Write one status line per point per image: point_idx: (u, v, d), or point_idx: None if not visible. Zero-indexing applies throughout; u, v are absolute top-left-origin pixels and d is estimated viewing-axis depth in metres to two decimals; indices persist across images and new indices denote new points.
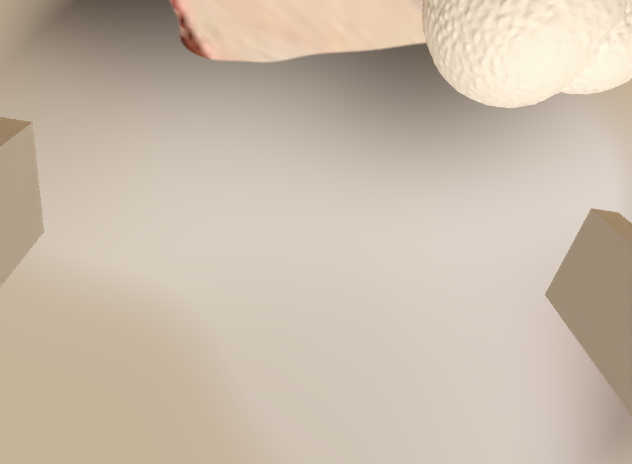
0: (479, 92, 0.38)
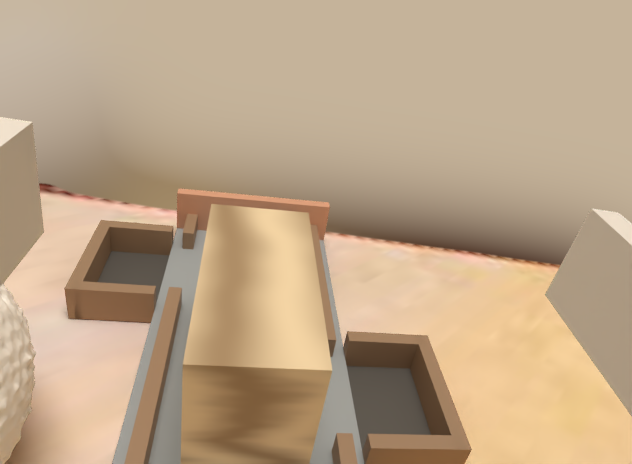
0: None
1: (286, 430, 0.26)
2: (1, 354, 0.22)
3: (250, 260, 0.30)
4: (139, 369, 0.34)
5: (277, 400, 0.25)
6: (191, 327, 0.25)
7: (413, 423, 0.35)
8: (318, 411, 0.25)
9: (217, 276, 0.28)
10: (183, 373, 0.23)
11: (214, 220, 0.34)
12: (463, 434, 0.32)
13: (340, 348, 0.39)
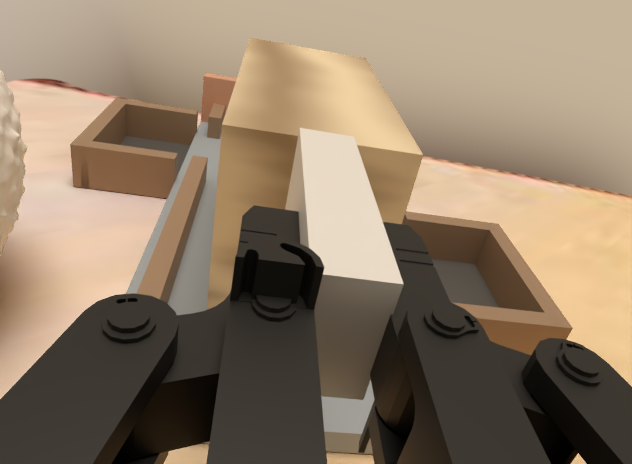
0: None
1: None
2: None
3: (301, 73, 0.24)
4: (155, 230, 0.28)
5: None
6: (232, 102, 0.19)
7: None
8: None
9: (262, 77, 0.22)
10: (222, 141, 0.17)
11: (255, 46, 0.27)
12: (559, 313, 0.25)
13: None
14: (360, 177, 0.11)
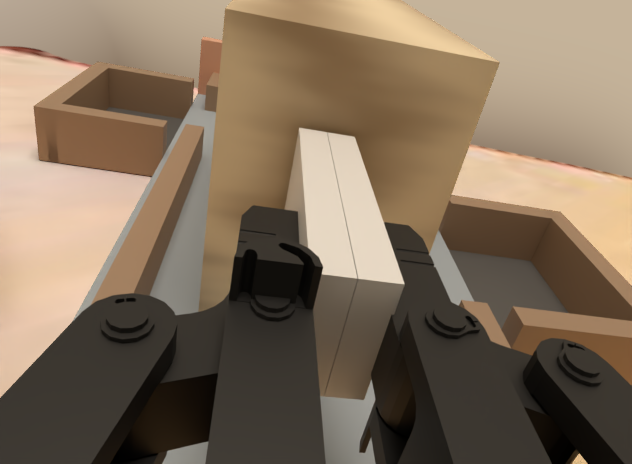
0: None
1: (391, 209, 0.15)
2: None
3: None
4: (135, 211, 0.22)
5: (387, 132, 0.14)
6: None
7: None
8: (453, 168, 0.14)
9: None
10: (224, 35, 0.12)
11: None
12: None
13: None
14: (361, 177, 0.11)
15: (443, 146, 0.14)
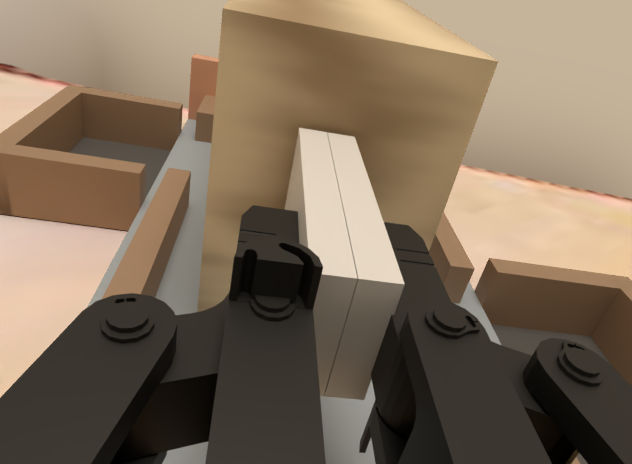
0: None
1: (390, 208, 0.15)
2: None
3: None
4: (97, 293, 0.17)
5: (386, 131, 0.14)
6: None
7: None
8: (452, 167, 0.14)
9: None
10: (222, 34, 0.12)
11: None
12: None
13: (469, 291, 0.22)
14: (361, 177, 0.11)
15: (441, 145, 0.14)
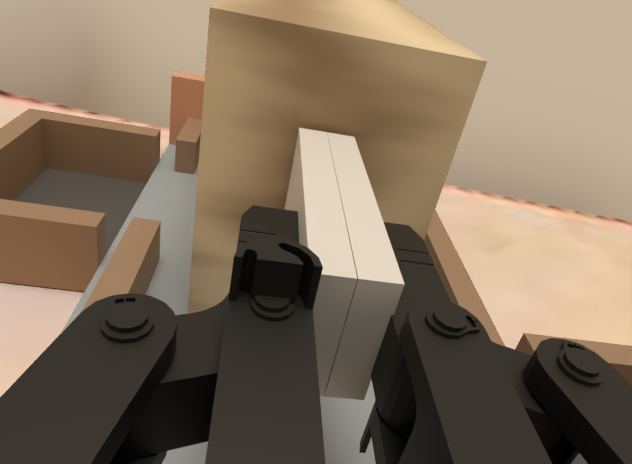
0: None
1: (379, 209, 0.15)
2: None
3: None
4: None
5: (375, 131, 0.14)
6: None
7: None
8: (442, 168, 0.14)
9: None
10: (209, 34, 0.12)
11: None
12: None
13: None
14: (361, 177, 0.11)
15: (431, 146, 0.14)
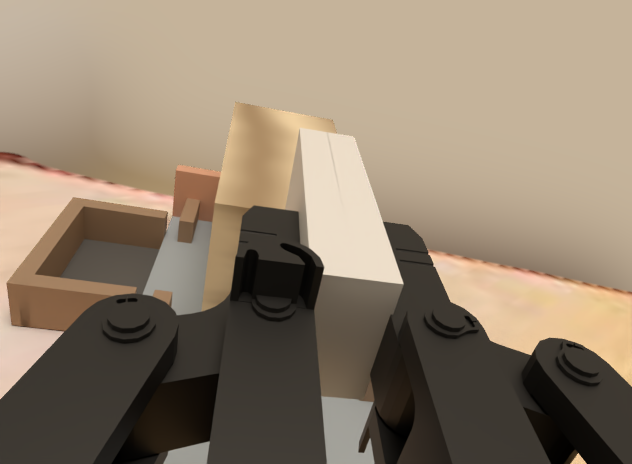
0: None
1: None
2: None
3: (277, 143, 0.30)
4: None
5: None
6: (221, 179, 0.24)
7: None
8: None
9: (245, 149, 0.28)
10: (214, 214, 0.22)
11: (239, 112, 0.33)
12: None
13: None
14: (360, 177, 0.11)
15: None
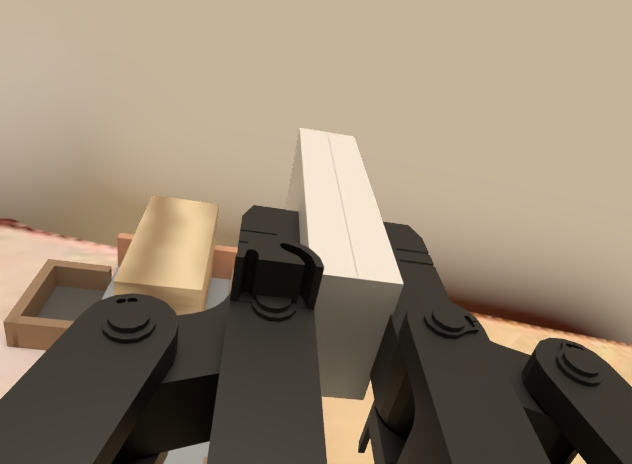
0: None
1: None
2: None
3: (169, 230, 0.48)
4: None
5: None
6: (122, 263, 0.42)
7: None
8: None
9: (145, 238, 0.46)
10: (114, 287, 0.40)
11: (152, 205, 0.51)
12: None
13: None
14: (360, 177, 0.11)
15: (191, 311, 0.42)
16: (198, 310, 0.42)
